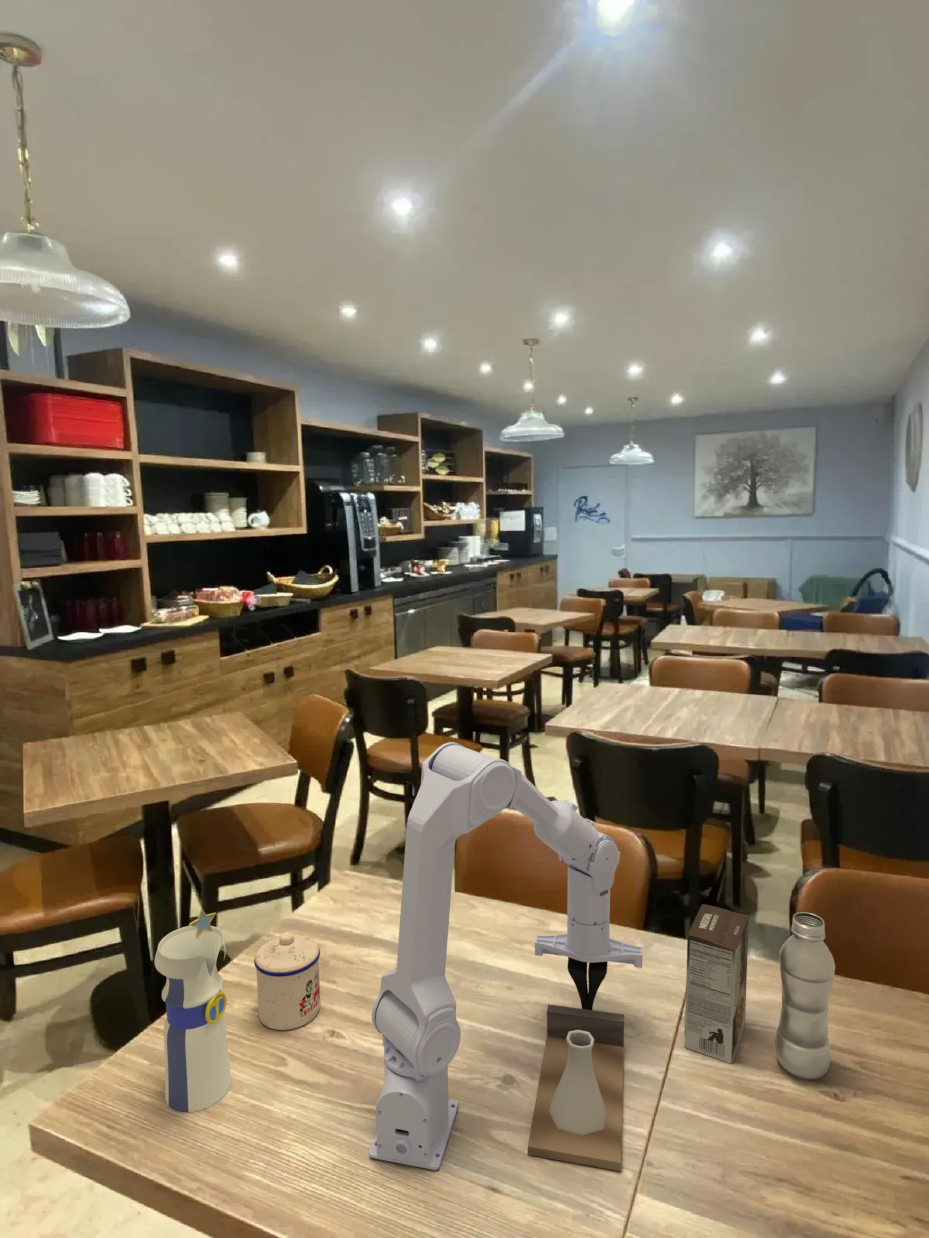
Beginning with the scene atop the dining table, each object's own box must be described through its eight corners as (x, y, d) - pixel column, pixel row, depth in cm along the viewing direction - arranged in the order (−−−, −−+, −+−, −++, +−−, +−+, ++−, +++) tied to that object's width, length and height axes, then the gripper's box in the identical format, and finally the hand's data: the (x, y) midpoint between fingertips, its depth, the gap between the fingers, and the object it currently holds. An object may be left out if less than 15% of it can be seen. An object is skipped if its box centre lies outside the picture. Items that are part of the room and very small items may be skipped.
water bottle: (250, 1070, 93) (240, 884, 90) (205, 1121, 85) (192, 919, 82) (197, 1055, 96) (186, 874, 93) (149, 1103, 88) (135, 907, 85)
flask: (614, 1145, 81) (617, 1061, 80) (549, 1143, 81) (551, 1058, 80) (604, 1097, 88) (606, 1019, 87) (544, 1095, 88) (546, 1017, 88)
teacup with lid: (313, 1033, 100) (309, 953, 99) (247, 1031, 100) (243, 952, 99) (333, 979, 112) (330, 908, 110) (274, 978, 112) (271, 907, 111)
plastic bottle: (823, 1054, 95) (831, 909, 92) (835, 1092, 88) (843, 937, 86) (770, 1045, 97) (776, 902, 94) (777, 1082, 90) (784, 930, 88)
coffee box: (698, 1008, 104) (701, 901, 102) (746, 1024, 101) (750, 913, 99) (682, 1047, 96) (685, 932, 94) (733, 1065, 93) (737, 947, 91)
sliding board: (620, 1171, 78) (621, 1133, 77) (527, 1154, 80) (527, 1116, 80) (623, 1045, 97) (624, 1014, 96) (548, 1034, 99) (548, 1004, 98)
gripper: (642, 905, 102) (640, 995, 104) (539, 894, 105) (539, 982, 107) (643, 932, 95) (641, 1028, 97) (532, 920, 99) (532, 1013, 100)
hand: (587, 1006), depth 102 cm, fingers closed
